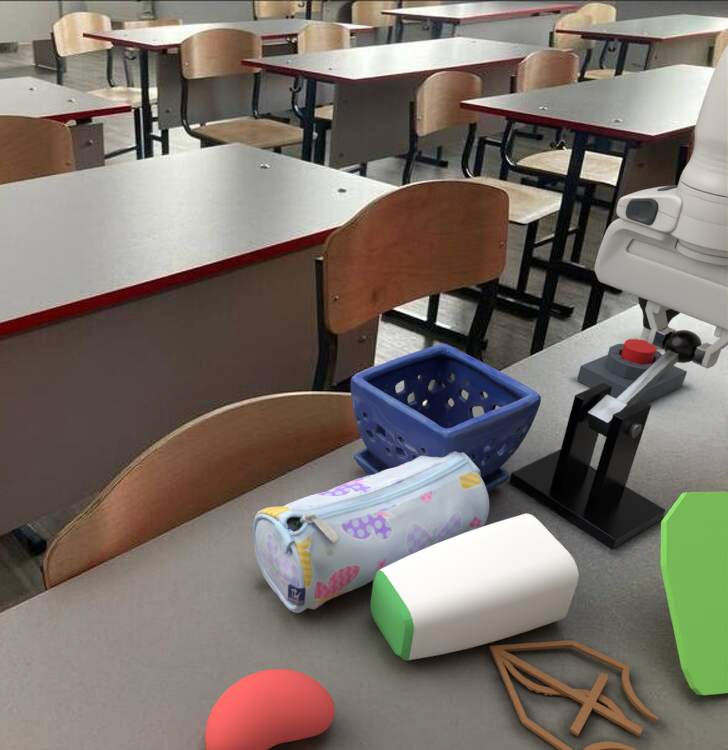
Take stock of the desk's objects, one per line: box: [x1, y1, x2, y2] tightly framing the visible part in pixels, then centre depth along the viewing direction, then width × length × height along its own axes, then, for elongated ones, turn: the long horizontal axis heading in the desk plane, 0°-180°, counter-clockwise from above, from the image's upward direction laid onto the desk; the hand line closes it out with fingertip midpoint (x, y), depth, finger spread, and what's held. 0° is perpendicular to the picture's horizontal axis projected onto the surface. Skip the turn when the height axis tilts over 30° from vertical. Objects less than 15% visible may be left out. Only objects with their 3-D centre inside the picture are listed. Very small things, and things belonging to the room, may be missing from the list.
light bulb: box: [637, 296, 681, 342], centre depth 107 cm, size 6×6×10 cm
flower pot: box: [350, 343, 542, 493], centre depth 79 cm, size 13×13×12 cm
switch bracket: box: [509, 383, 666, 550], centre depth 77 cm, size 8×12×12 cm, turn 33°
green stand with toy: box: [659, 490, 728, 696], centre depth 65 cm, size 15×15×6 cm
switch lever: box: [588, 329, 703, 438], centre depth 76 cm, size 14×3×3 cm, turn 122°
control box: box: [576, 343, 688, 406], centre depth 99 cm, size 10×8×4 cm
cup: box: [370, 513, 580, 662], centre depth 64 cm, size 7×7×15 cm
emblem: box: [489, 639, 659, 750], centre depth 60 cm, size 12×10×1 cm
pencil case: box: [252, 451, 490, 614], centre depth 69 cm, size 21×9×10 cm, turn 118°
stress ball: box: [204, 668, 336, 750], centre depth 55 cm, size 5×9×6 cm
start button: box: [621, 338, 658, 364], centre depth 98 cm, size 4×4×2 cm
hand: (680, 354), depth 78 cm, fingers closed on switch lever, 3 cm apart
